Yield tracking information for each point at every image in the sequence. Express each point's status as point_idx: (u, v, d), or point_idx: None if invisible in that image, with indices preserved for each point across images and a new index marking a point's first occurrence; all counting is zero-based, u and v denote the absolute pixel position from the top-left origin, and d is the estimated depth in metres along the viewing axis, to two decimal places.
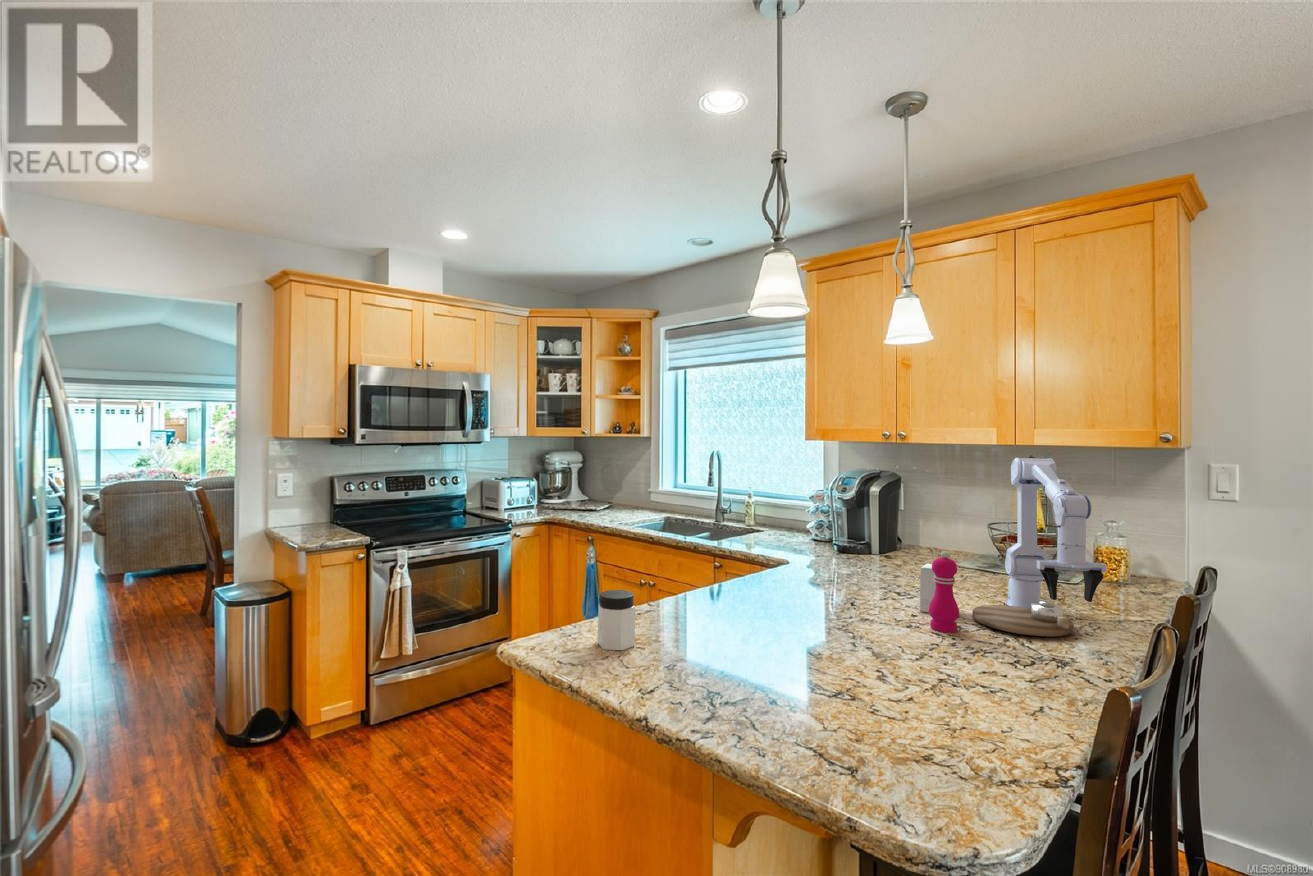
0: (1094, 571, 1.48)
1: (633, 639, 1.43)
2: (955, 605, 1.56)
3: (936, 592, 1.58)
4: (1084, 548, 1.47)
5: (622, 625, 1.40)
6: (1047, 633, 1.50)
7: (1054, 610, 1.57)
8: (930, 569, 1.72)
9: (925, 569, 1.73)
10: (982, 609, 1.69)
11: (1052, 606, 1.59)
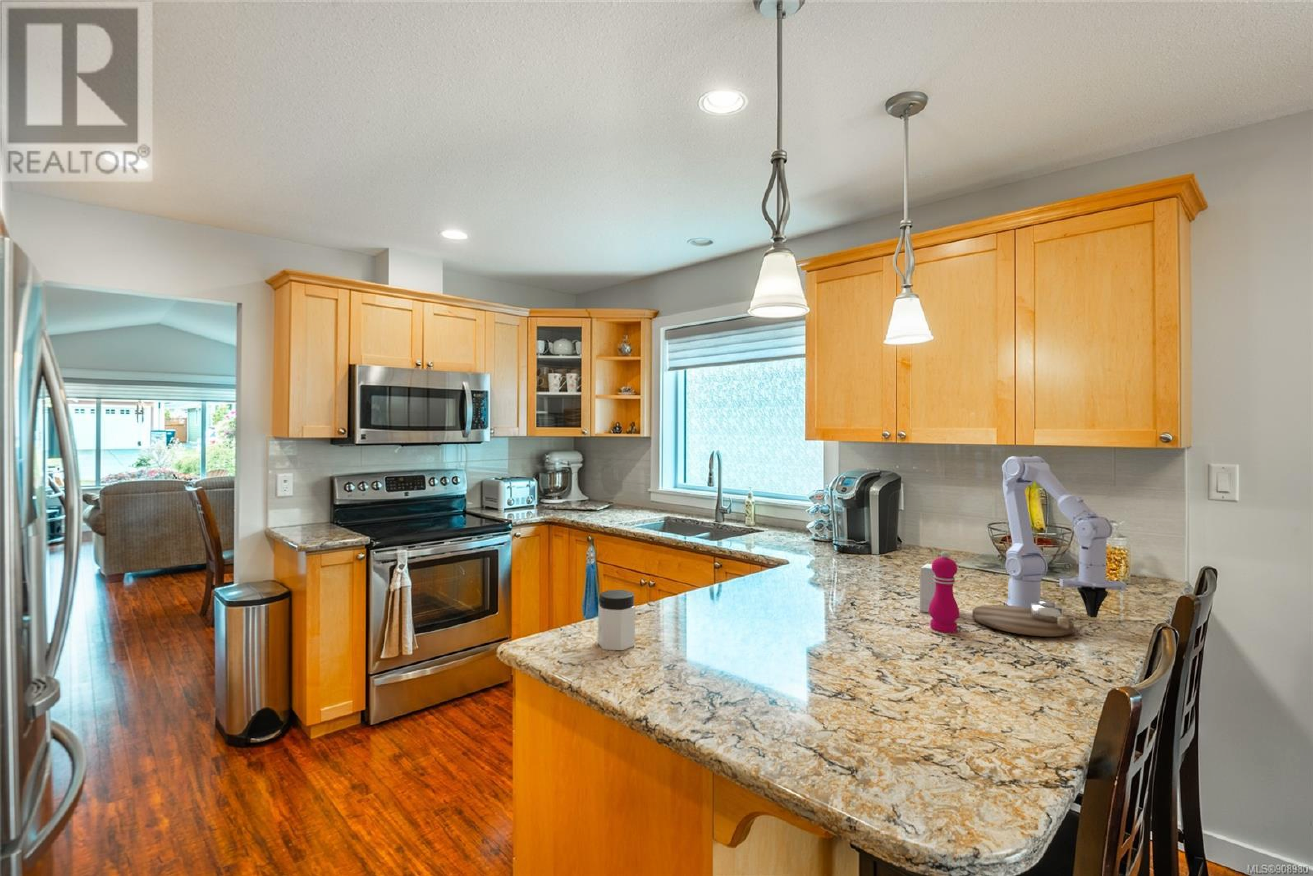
0: (1114, 589, 1.57)
1: (633, 639, 1.43)
2: (955, 605, 1.56)
3: (936, 592, 1.58)
4: (1105, 568, 1.56)
5: (622, 625, 1.40)
6: (1047, 633, 1.50)
7: (1054, 610, 1.57)
8: (930, 569, 1.72)
9: (925, 569, 1.73)
10: (982, 609, 1.69)
11: (1052, 606, 1.59)
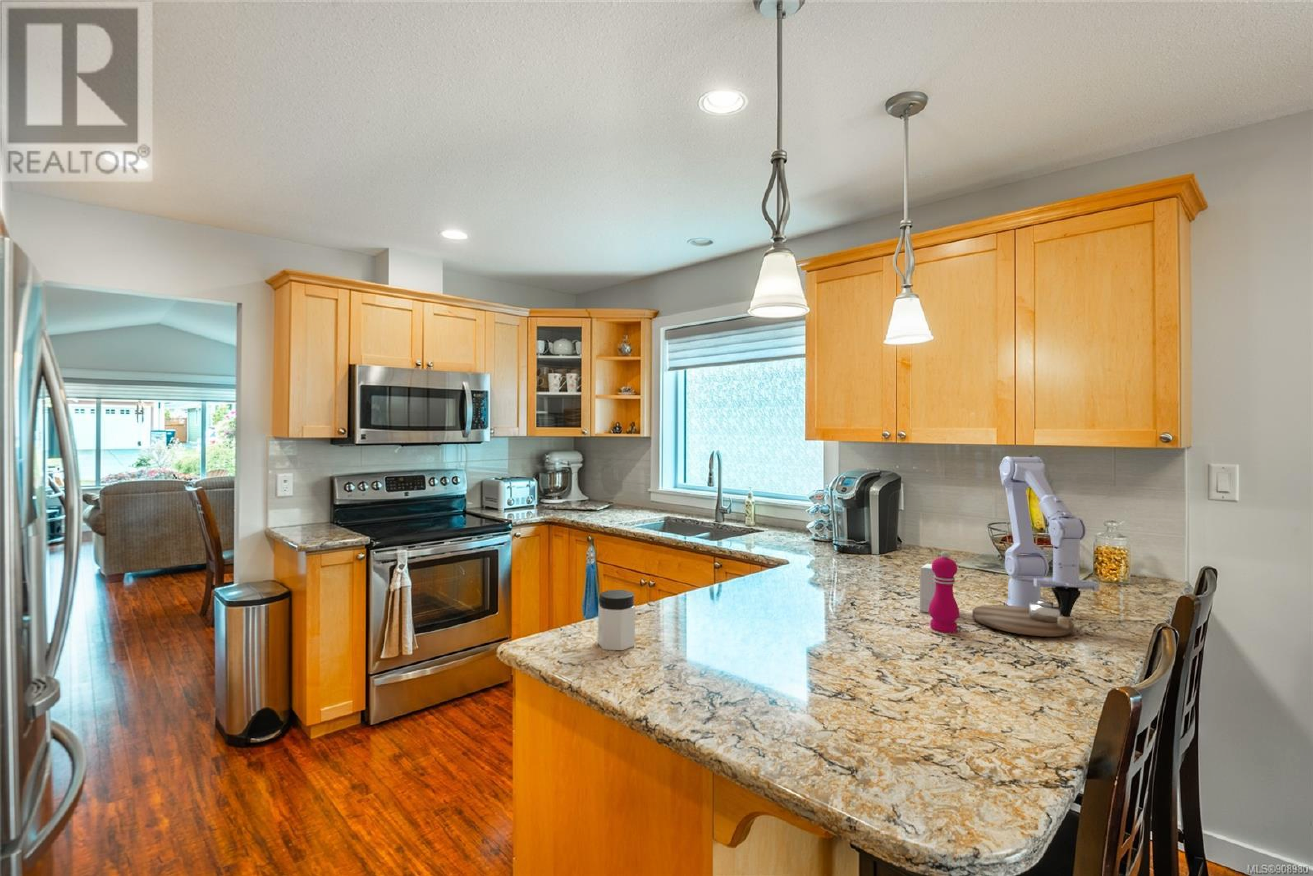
0: None
1: (633, 639, 1.43)
2: (955, 605, 1.56)
3: (936, 592, 1.58)
4: (1078, 568, 1.57)
5: (622, 625, 1.40)
6: (1047, 633, 1.50)
7: (1052, 610, 1.57)
8: (930, 569, 1.72)
9: (925, 569, 1.73)
10: (982, 609, 1.69)
11: (1050, 606, 1.59)
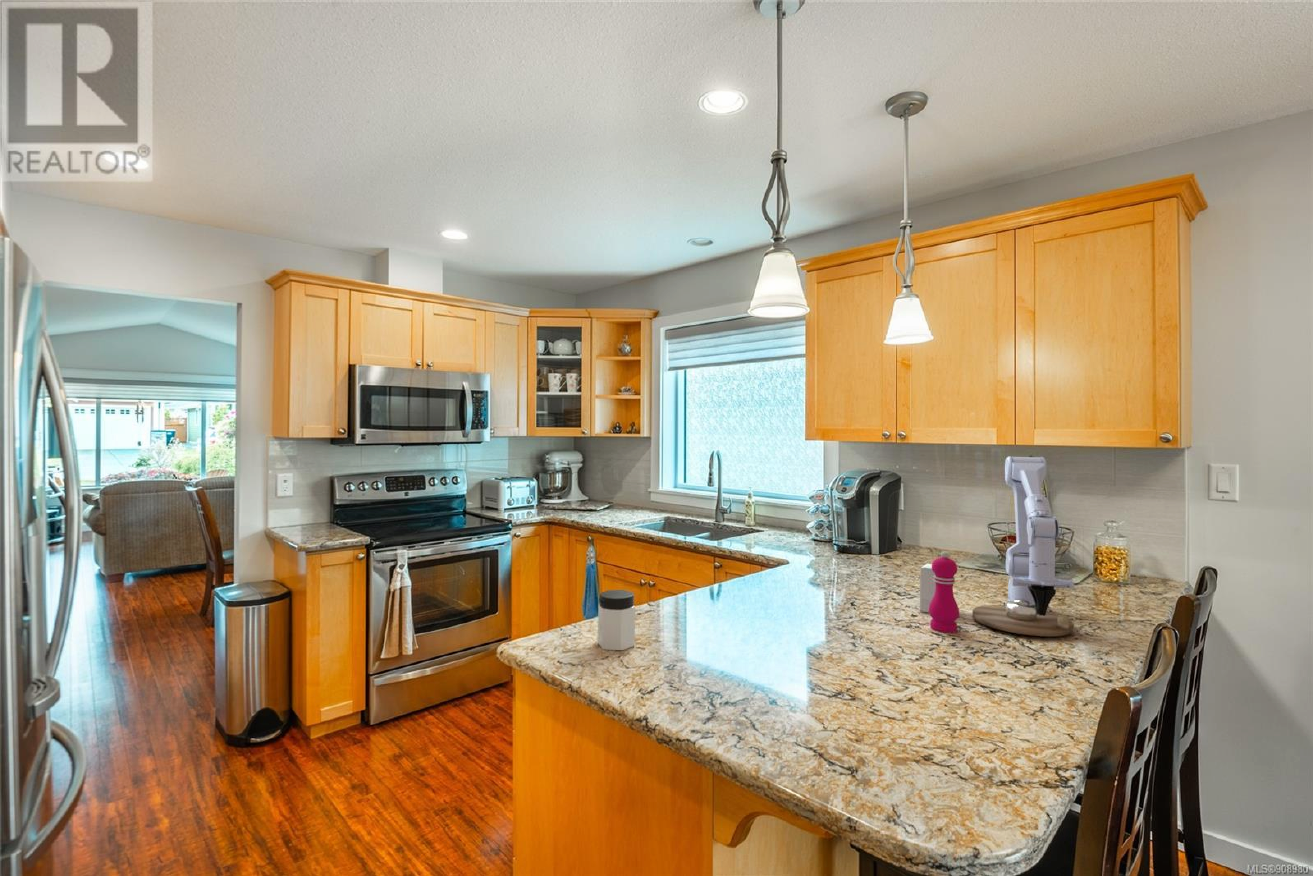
0: None
1: (633, 639, 1.43)
2: (955, 605, 1.56)
3: (936, 592, 1.58)
4: (1053, 566, 1.59)
5: (622, 625, 1.40)
6: (1047, 633, 1.50)
7: (1029, 609, 1.58)
8: (930, 569, 1.72)
9: (925, 569, 1.73)
10: (982, 609, 1.69)
11: (1027, 605, 1.60)
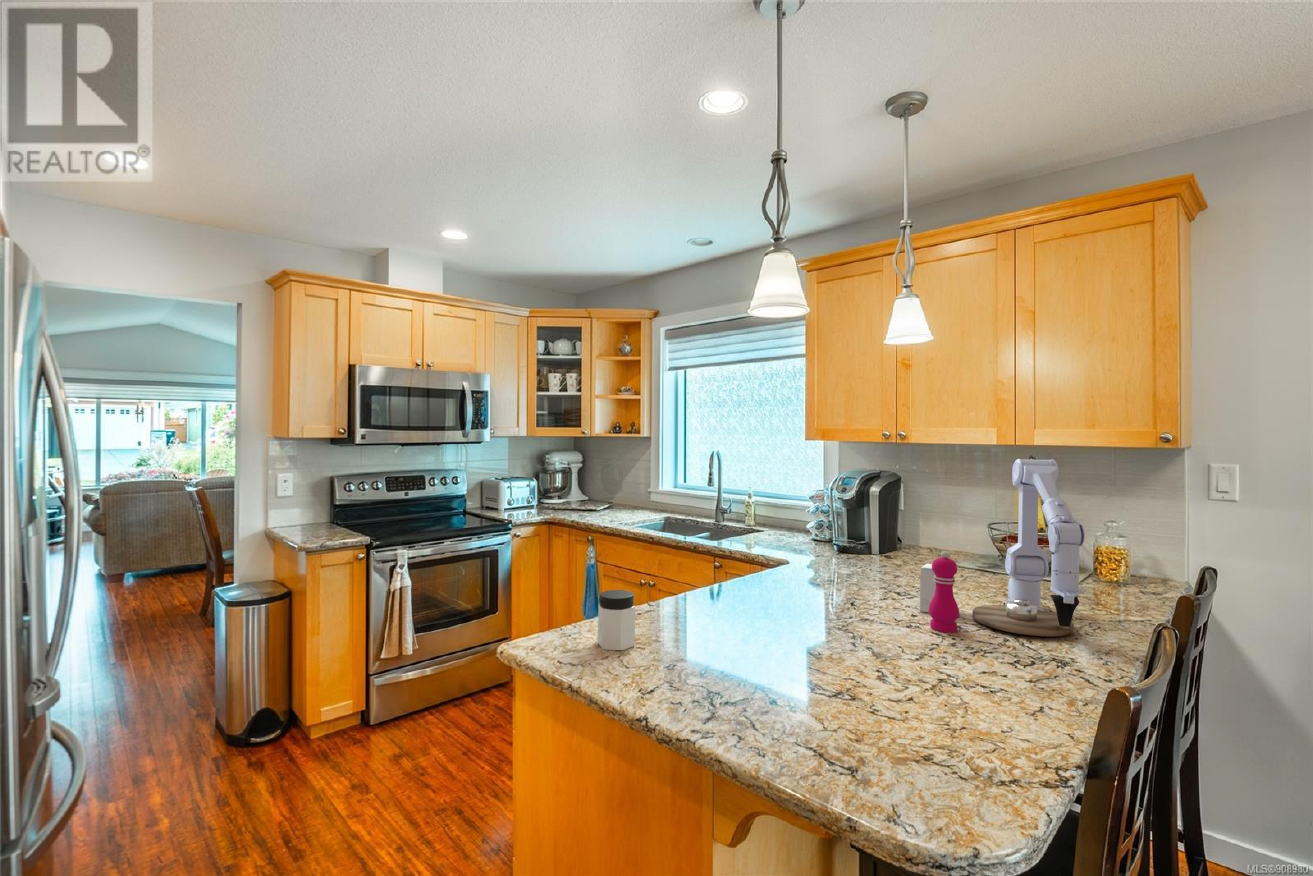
0: None
1: (633, 639, 1.43)
2: (955, 605, 1.56)
3: (936, 592, 1.58)
4: None
5: (622, 625, 1.40)
6: (1047, 633, 1.50)
7: (1029, 609, 1.58)
8: (930, 569, 1.72)
9: (925, 569, 1.73)
10: (982, 609, 1.69)
11: (1027, 605, 1.60)
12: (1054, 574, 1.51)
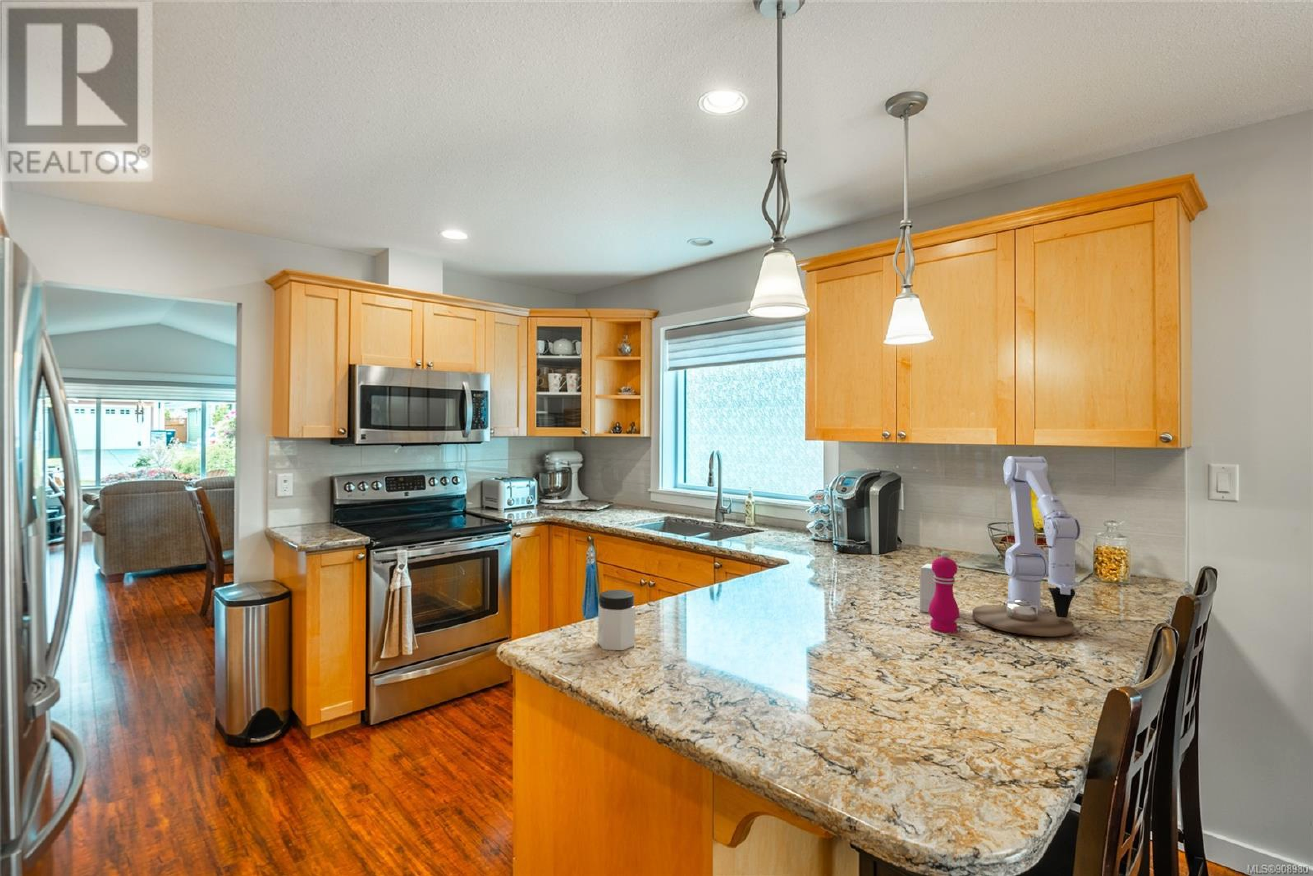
0: None
1: (633, 639, 1.43)
2: (955, 605, 1.56)
3: (936, 592, 1.58)
4: None
5: (622, 625, 1.40)
6: (1070, 630, 1.53)
7: (1036, 608, 1.59)
8: (930, 569, 1.72)
9: (925, 569, 1.73)
10: (982, 615, 1.63)
11: (1030, 604, 1.61)
12: (1051, 567, 1.58)
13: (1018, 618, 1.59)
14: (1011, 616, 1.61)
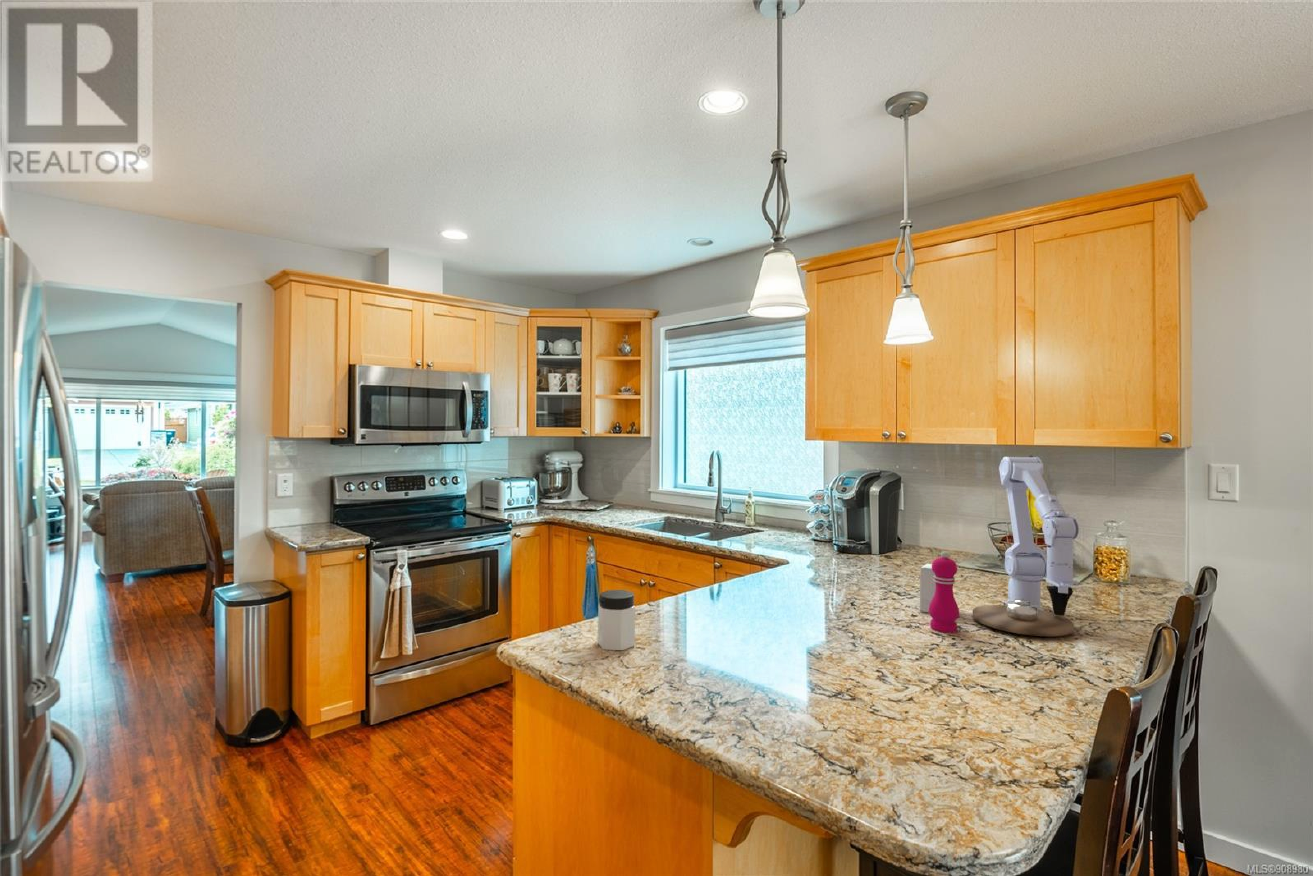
0: None
1: (633, 639, 1.43)
2: (955, 605, 1.56)
3: (936, 592, 1.58)
4: None
5: (622, 625, 1.40)
6: (1073, 627, 1.55)
7: (1037, 607, 1.60)
8: (930, 569, 1.72)
9: (925, 569, 1.73)
10: (989, 618, 1.60)
11: None
12: (1049, 566, 1.60)
13: (1023, 619, 1.59)
14: (1015, 617, 1.60)
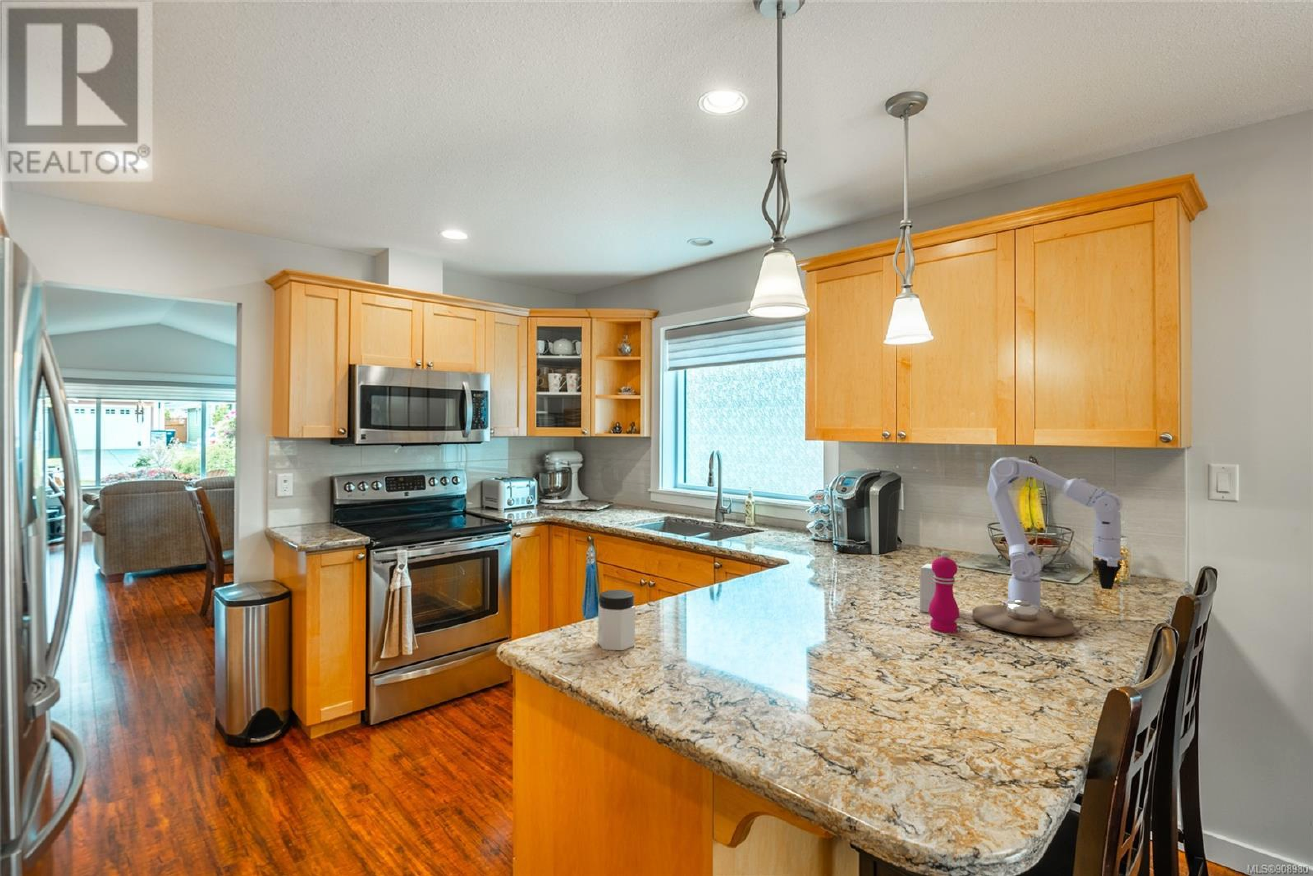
0: None
1: (633, 639, 1.43)
2: (955, 605, 1.56)
3: (936, 592, 1.58)
4: None
5: (622, 625, 1.40)
6: (1073, 627, 1.56)
7: (1037, 607, 1.60)
8: (930, 569, 1.72)
9: (925, 569, 1.73)
10: (989, 619, 1.60)
11: None
12: (1097, 541, 1.64)
13: (1023, 619, 1.59)
14: (1016, 617, 1.60)
